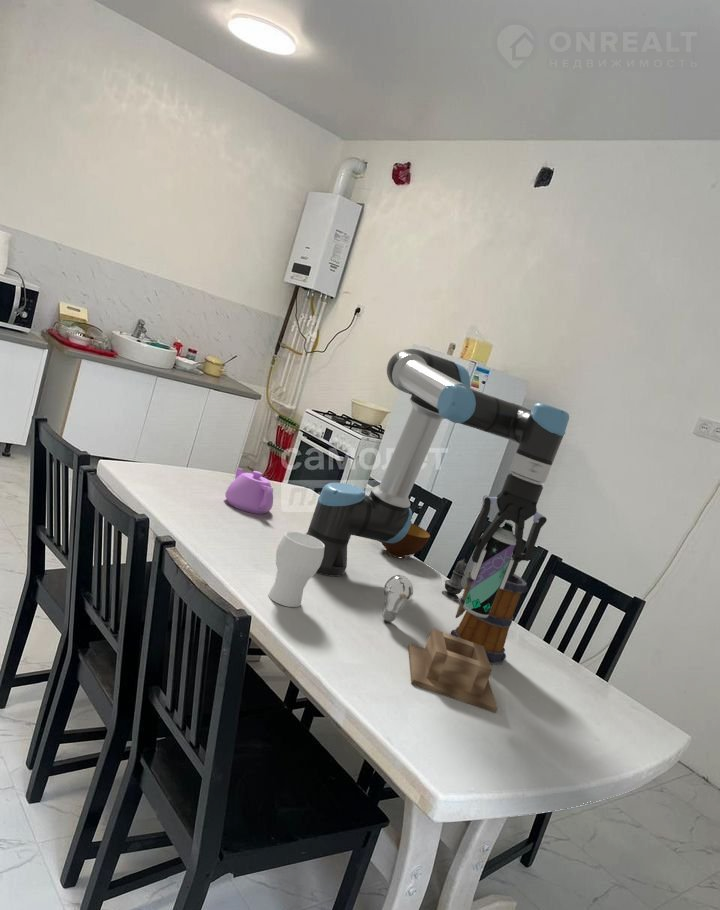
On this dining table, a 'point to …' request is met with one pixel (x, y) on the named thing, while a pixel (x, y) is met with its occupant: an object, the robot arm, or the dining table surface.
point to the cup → (295, 567)
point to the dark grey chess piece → (455, 581)
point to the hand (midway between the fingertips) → (486, 581)
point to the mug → (491, 619)
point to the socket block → (453, 669)
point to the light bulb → (396, 596)
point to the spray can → (491, 572)
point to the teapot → (250, 492)
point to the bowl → (408, 542)
